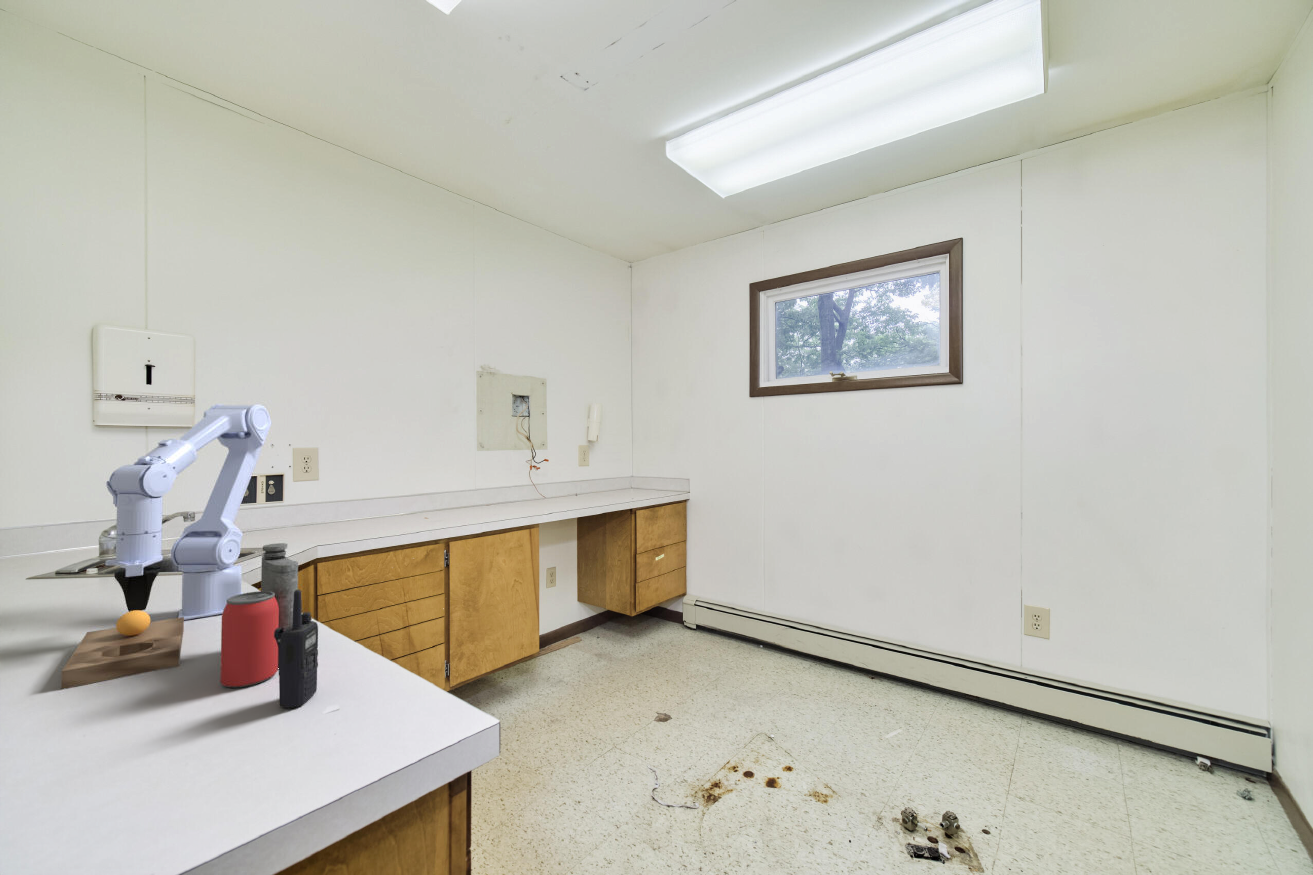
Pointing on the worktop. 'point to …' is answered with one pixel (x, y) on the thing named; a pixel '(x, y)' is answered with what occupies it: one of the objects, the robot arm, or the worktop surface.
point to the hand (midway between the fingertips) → (137, 610)
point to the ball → (133, 623)
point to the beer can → (249, 639)
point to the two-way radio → (297, 657)
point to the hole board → (124, 653)
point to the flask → (280, 581)
